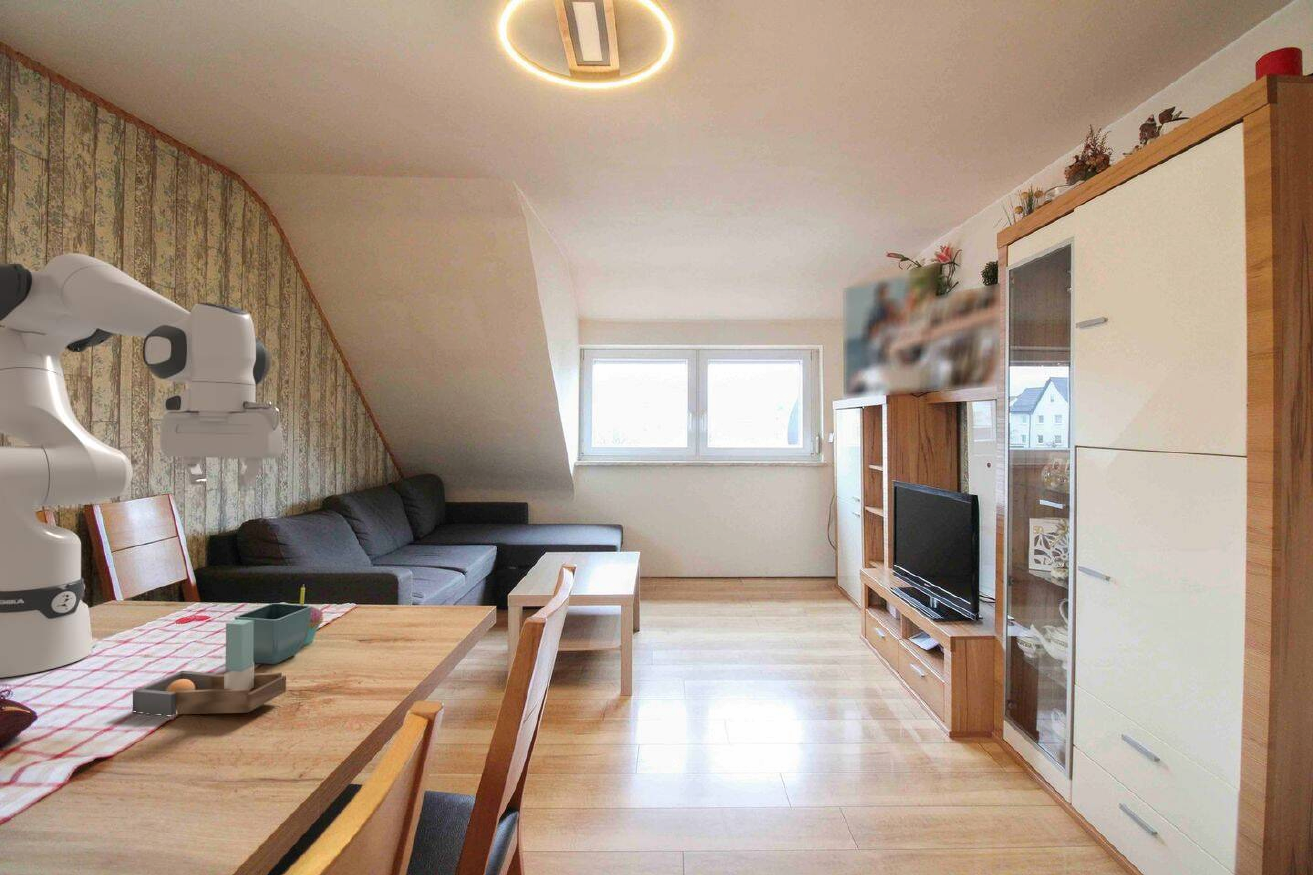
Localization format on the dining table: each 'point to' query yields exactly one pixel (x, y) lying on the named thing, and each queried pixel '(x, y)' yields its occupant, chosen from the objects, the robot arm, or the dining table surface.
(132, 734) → the dining table surface
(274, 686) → the hexagonal shallow dish
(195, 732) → the dining table surface
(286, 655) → the flower pot
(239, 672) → the rectangular block
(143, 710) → the grey low frame
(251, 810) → the dining table surface
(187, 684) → the ball
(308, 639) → the cupcake
